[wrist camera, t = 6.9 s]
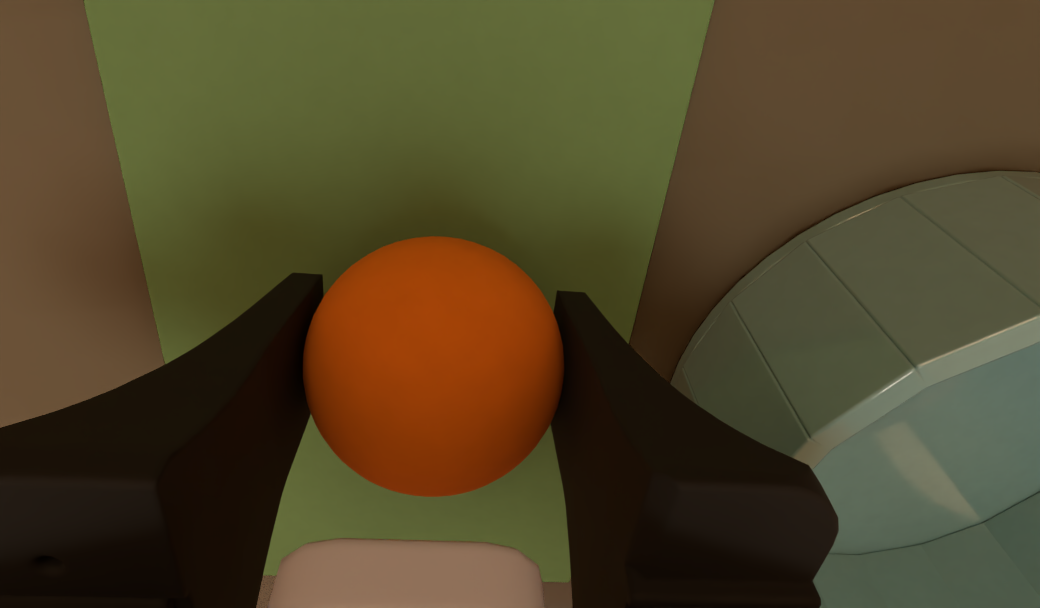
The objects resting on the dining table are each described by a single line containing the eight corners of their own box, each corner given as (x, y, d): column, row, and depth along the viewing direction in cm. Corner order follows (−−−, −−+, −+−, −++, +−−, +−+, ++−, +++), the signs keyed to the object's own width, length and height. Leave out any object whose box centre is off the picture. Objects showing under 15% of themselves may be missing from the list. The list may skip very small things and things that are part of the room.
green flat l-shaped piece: (568, 574, 22) (569, 582, 21) (214, 565, 20) (211, 574, 20) (797, -358, 10) (806, -364, 9) (-18, -502, 9) (-33, -513, 8)
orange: (538, 387, 17) (556, 559, 13) (335, 375, 16) (282, 549, 12) (568, 204, 14) (603, 346, 10) (326, 183, 14) (255, 323, 9)
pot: (1004, 559, 22) (1122, 714, 18) (619, 548, 21) (652, 713, 17) (1297, 195, 15) (1598, 317, 11) (741, 143, 14) (851, 260, 10)
